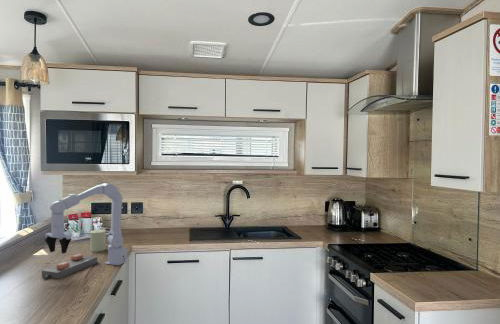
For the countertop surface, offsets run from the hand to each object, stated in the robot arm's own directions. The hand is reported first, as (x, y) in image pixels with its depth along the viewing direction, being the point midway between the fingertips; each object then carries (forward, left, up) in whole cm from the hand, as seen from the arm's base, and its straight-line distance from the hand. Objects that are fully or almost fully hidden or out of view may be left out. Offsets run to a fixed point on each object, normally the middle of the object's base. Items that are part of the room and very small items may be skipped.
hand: (58, 252), depth 173 cm
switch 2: (+1, -13, -7) cm, 15 cm away
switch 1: (-3, 0, -7) cm, 8 cm away
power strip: (-1, -5, -10) cm, 12 cm away
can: (+12, -41, -11) cm, 44 cm away
